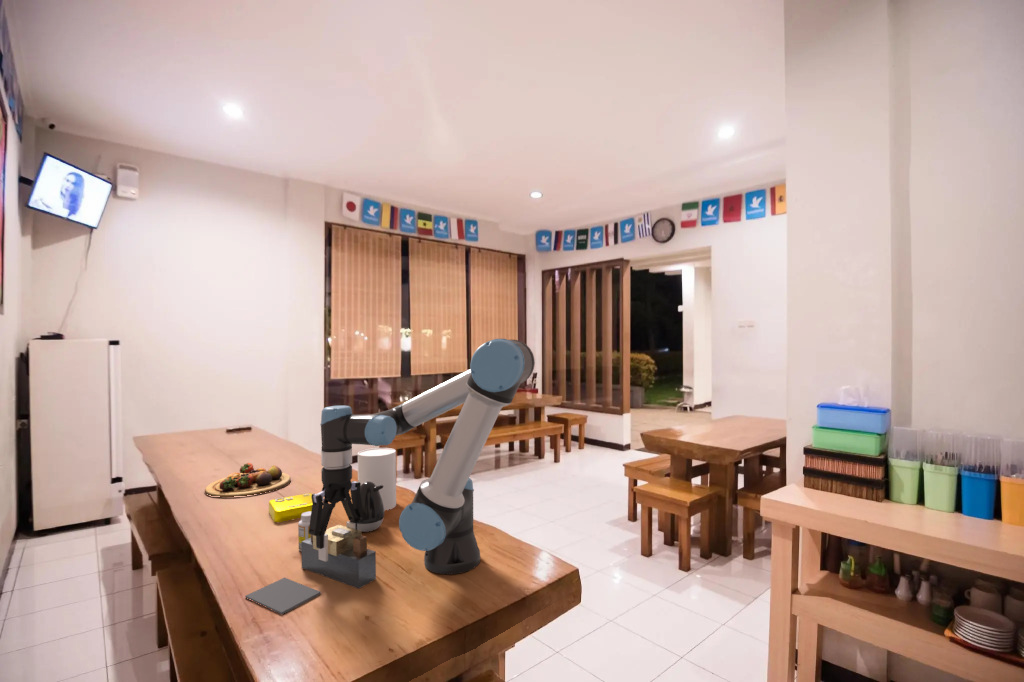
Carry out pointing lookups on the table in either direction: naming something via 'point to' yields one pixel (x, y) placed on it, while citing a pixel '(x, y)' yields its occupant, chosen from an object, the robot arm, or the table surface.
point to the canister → (379, 472)
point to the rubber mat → (283, 595)
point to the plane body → (343, 563)
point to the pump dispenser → (371, 507)
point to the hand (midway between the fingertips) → (337, 553)
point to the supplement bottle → (304, 528)
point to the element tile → (290, 507)
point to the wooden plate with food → (249, 482)
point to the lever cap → (339, 539)
